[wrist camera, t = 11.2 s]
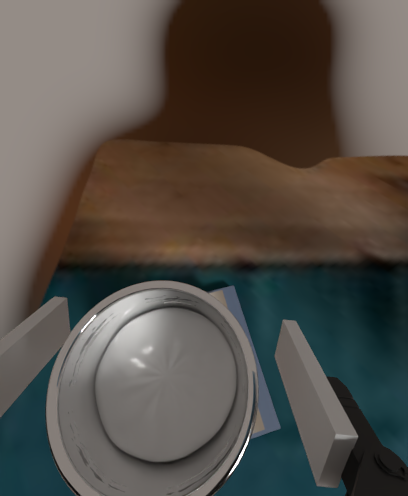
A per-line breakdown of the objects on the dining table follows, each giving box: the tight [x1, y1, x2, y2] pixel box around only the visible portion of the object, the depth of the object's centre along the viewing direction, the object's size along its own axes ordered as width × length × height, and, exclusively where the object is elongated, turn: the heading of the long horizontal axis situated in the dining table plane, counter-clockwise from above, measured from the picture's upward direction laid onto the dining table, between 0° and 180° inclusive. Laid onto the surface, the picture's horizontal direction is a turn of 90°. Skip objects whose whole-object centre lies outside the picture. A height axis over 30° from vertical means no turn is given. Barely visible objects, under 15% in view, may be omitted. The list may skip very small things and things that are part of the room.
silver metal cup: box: [45, 280, 259, 496], centre depth 14 cm, size 7×7×15 cm
